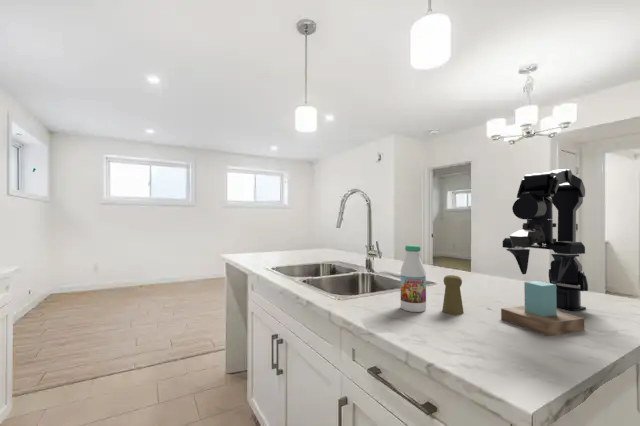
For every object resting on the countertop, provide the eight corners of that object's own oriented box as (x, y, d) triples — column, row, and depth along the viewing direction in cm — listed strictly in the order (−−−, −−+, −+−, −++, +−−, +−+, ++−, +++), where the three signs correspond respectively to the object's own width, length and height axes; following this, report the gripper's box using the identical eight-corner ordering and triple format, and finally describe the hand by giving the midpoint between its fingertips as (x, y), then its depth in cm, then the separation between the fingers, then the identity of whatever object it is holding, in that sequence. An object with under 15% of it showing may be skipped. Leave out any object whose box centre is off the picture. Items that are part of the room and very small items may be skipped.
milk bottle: (397, 305, 100) (396, 244, 100) (420, 305, 101) (419, 244, 101) (405, 313, 92) (405, 246, 93) (430, 312, 93) (430, 246, 93)
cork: (466, 315, 90) (465, 277, 91) (444, 314, 92) (444, 277, 92) (460, 309, 96) (460, 274, 96) (440, 308, 98) (440, 273, 98)
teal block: (538, 309, 86) (537, 280, 86) (556, 315, 81) (556, 284, 81) (524, 311, 84) (524, 282, 84) (542, 316, 80) (542, 286, 80)
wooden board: (535, 314, 91) (535, 304, 91) (584, 330, 78) (584, 318, 78) (501, 319, 87) (501, 308, 87) (547, 336, 74) (547, 323, 75)
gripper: (487, 219, 89) (488, 272, 89) (553, 219, 72) (554, 286, 71) (516, 219, 93) (517, 270, 93) (586, 219, 75) (587, 283, 75)
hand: (540, 277), depth 83 cm, fingers open, 9 cm apart
